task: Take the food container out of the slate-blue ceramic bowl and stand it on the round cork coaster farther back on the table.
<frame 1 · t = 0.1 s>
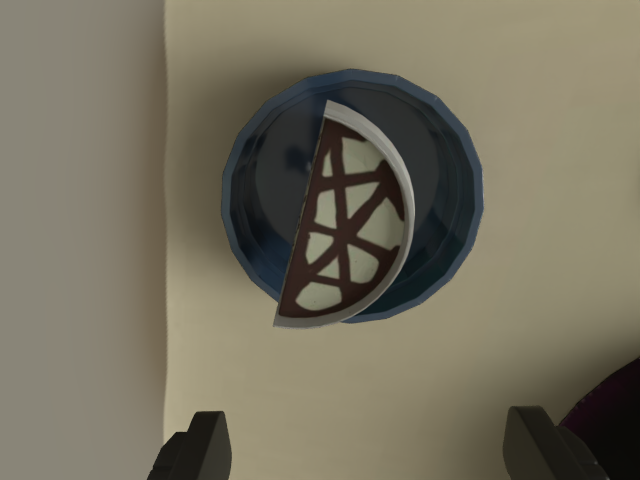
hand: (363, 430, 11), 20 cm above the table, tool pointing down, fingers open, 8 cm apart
food container: (348, 192, 29), resting on bowl
bowl: (348, 191, 29), on the table
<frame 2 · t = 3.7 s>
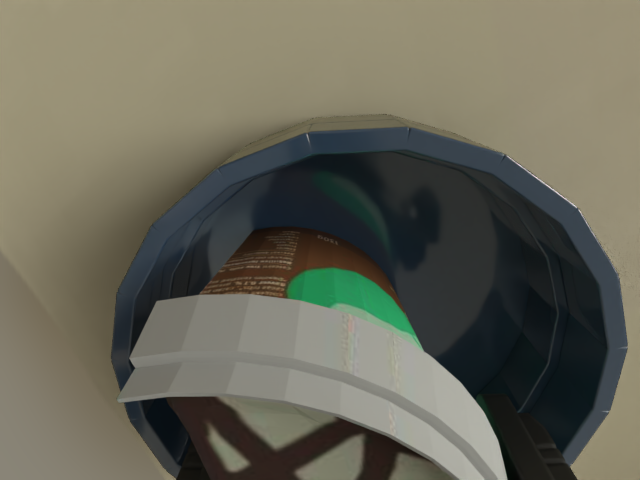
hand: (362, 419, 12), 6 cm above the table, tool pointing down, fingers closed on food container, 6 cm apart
food container: (354, 310, 17), resting on bowl, touching gripper
bowl: (354, 305, 18), on the table
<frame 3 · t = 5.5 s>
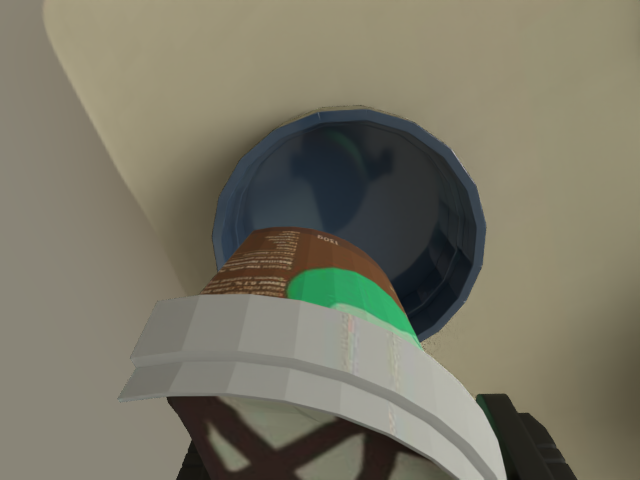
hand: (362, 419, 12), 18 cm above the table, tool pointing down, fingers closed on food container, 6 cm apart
food container: (354, 310, 17), point 12 cm above the table, touching gripper
bowl: (345, 224, 28), on the table
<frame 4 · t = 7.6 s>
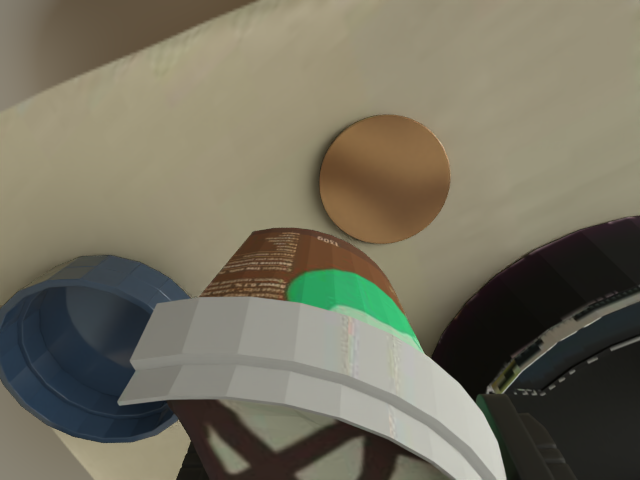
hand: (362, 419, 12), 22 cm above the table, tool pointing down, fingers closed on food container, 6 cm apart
decorative container: (613, 394, 38), on the table
food container: (354, 311, 17), point 16 cm above the table, touching gripper
bowl: (122, 332, 37), on the table
coaster: (383, 181, 31), on the table
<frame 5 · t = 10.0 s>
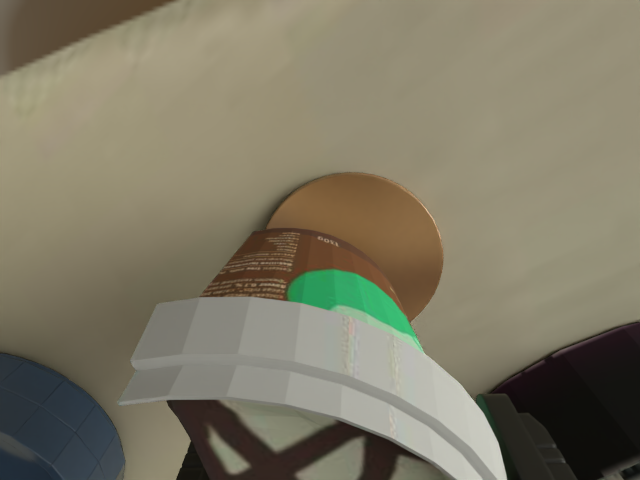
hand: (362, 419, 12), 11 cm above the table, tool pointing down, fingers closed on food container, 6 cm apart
food container: (355, 312, 17), point 5 cm above the table, touching gripper
bowl: (13, 441, 28), on the table
coaster: (349, 261, 22), on the table
when the fingers open (6 cm above the table, at t = 11.9 s): food container stays where it is, resting on coaster.
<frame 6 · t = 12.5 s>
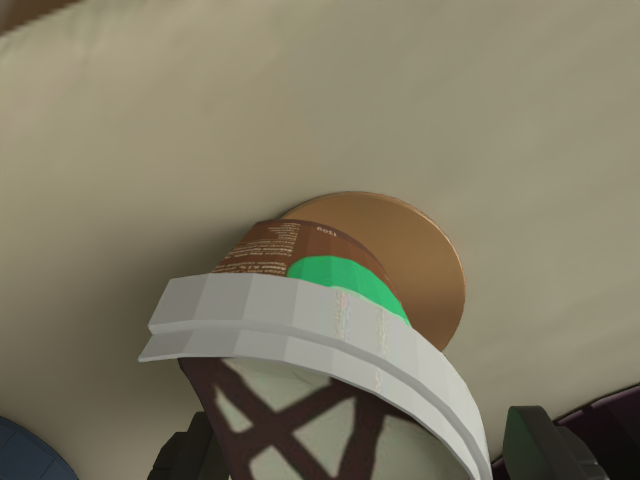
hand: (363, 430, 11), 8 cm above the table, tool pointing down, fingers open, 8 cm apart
food container: (352, 300, 18), resting on coaster
coaster: (352, 296, 18), on the table
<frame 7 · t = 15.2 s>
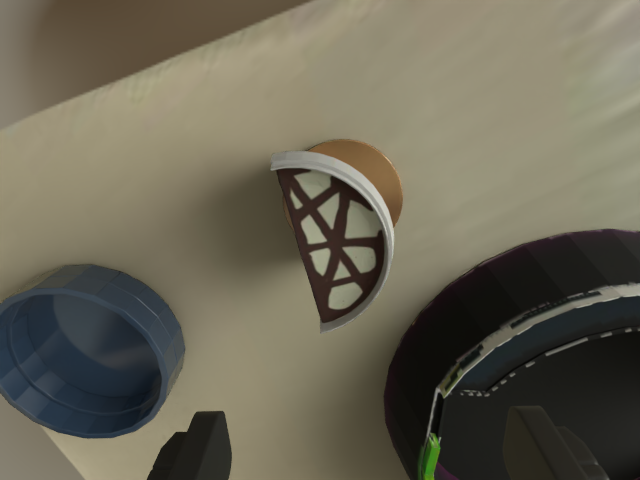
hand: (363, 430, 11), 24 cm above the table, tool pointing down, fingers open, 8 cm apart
decorative container: (562, 395, 41), on the table
food container: (342, 200, 33), resting on coaster
bowl: (105, 336, 40), on the table
coaster: (342, 199, 34), on the table
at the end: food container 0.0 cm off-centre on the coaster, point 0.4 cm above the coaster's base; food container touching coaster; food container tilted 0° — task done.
